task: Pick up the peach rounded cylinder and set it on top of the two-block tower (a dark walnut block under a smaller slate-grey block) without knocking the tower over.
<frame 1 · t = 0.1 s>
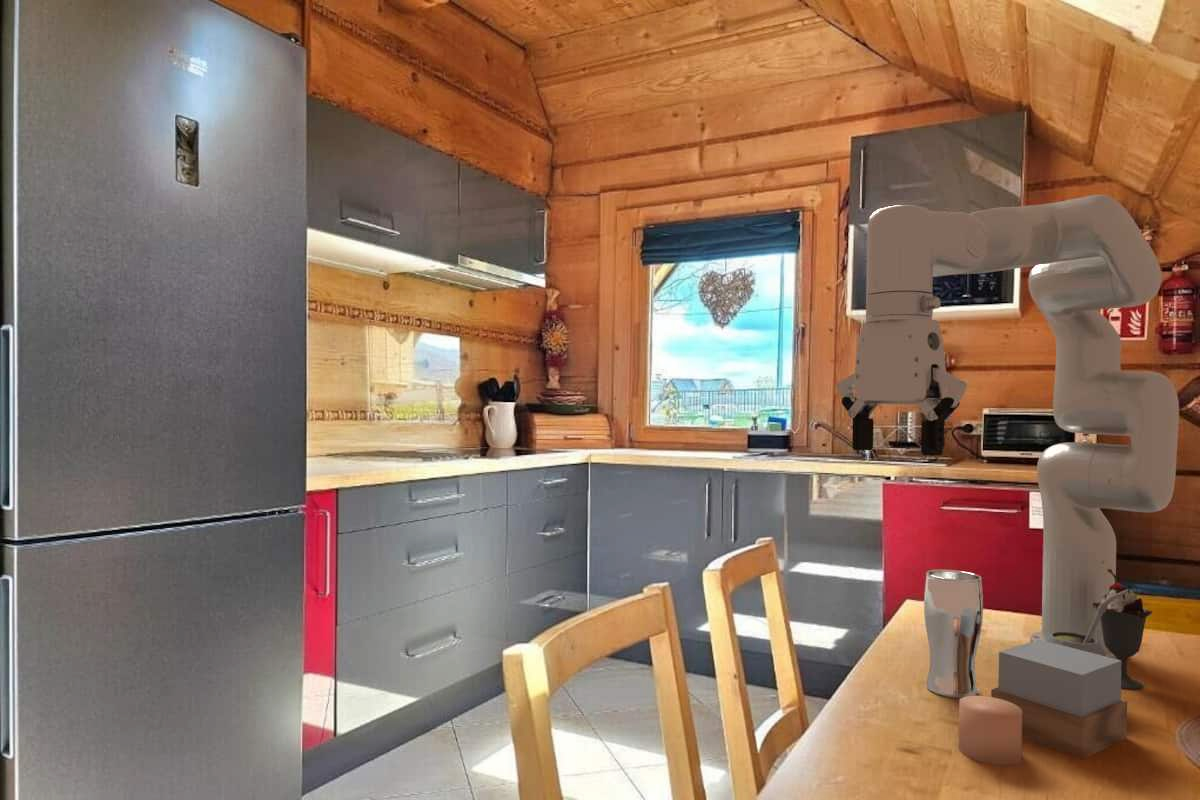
hand: (895, 452, 95), 31 cm above the table, tool pointing down, fingers open, 9 cm apart
beer glass: (951, 691, 102), on the table
mate gourd: (1077, 703, 99), on the table
slate top block: (1058, 695, 90), point 4 cm above the table, touching walnut base block
walnut base block: (1057, 734, 90), on the table, touching slate top block
sundae: (1120, 684, 106), on the table
peach rounded cylinder: (989, 753, 84), on the table
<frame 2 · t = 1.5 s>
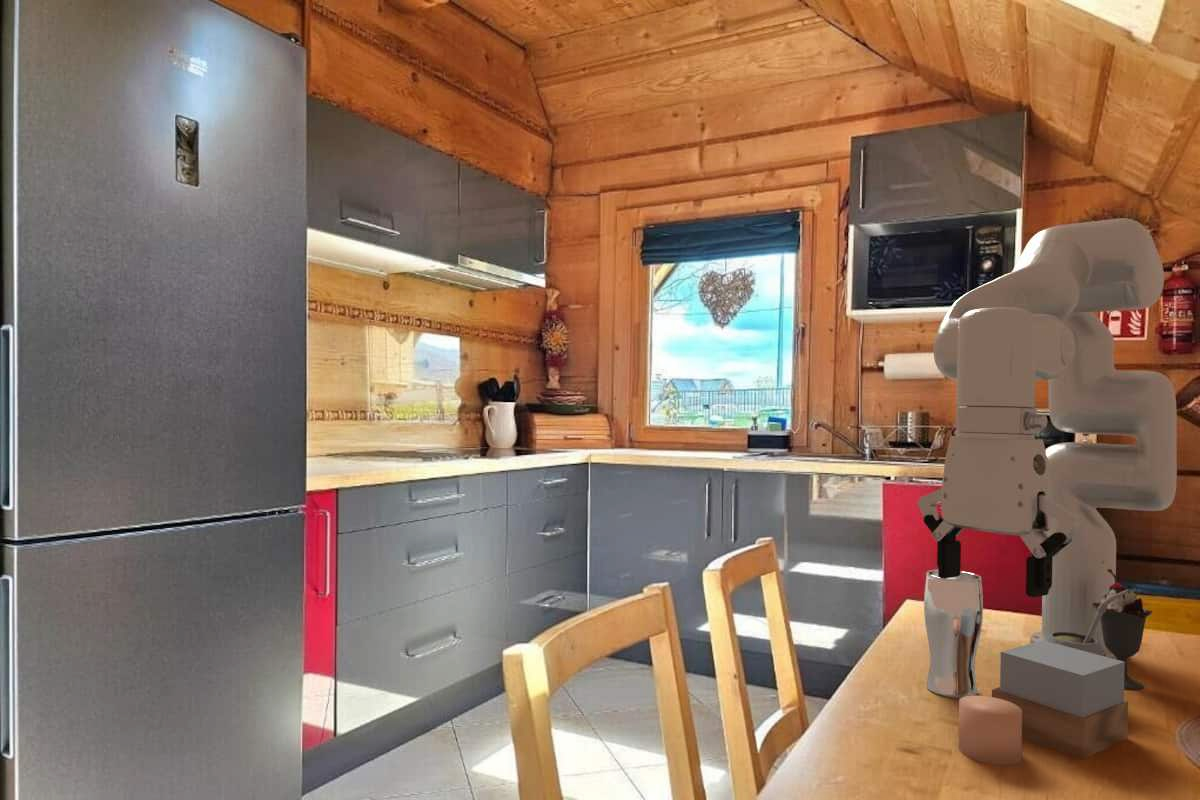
hand: (991, 585, 84), 18 cm above the table, tool pointing down, fingers open, 9 cm apart
nothing on the table moved.
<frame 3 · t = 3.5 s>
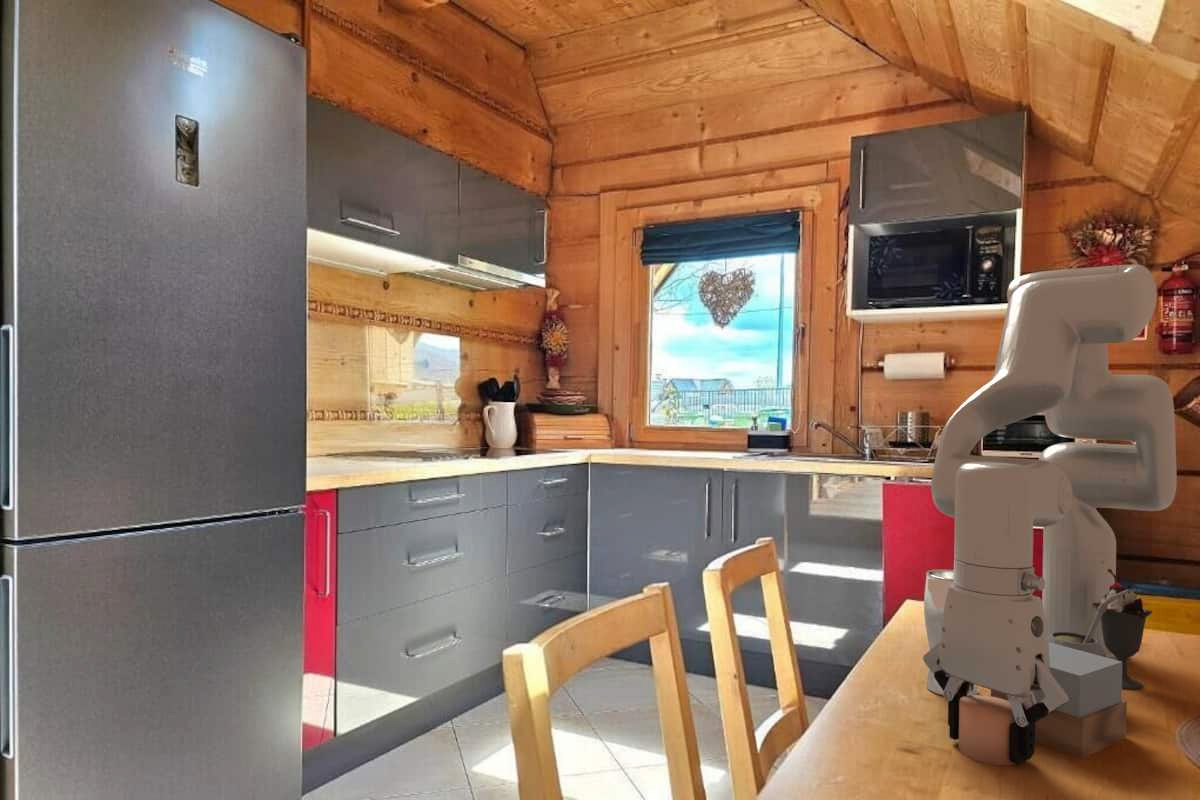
hand: (989, 746, 84), 1 cm above the table, tool pointing down, fingers closed on peach rounded cylinder, 6 cm apart
peach rounded cylinder: (989, 752, 84), on the table, touching gripper
everything else where it was.
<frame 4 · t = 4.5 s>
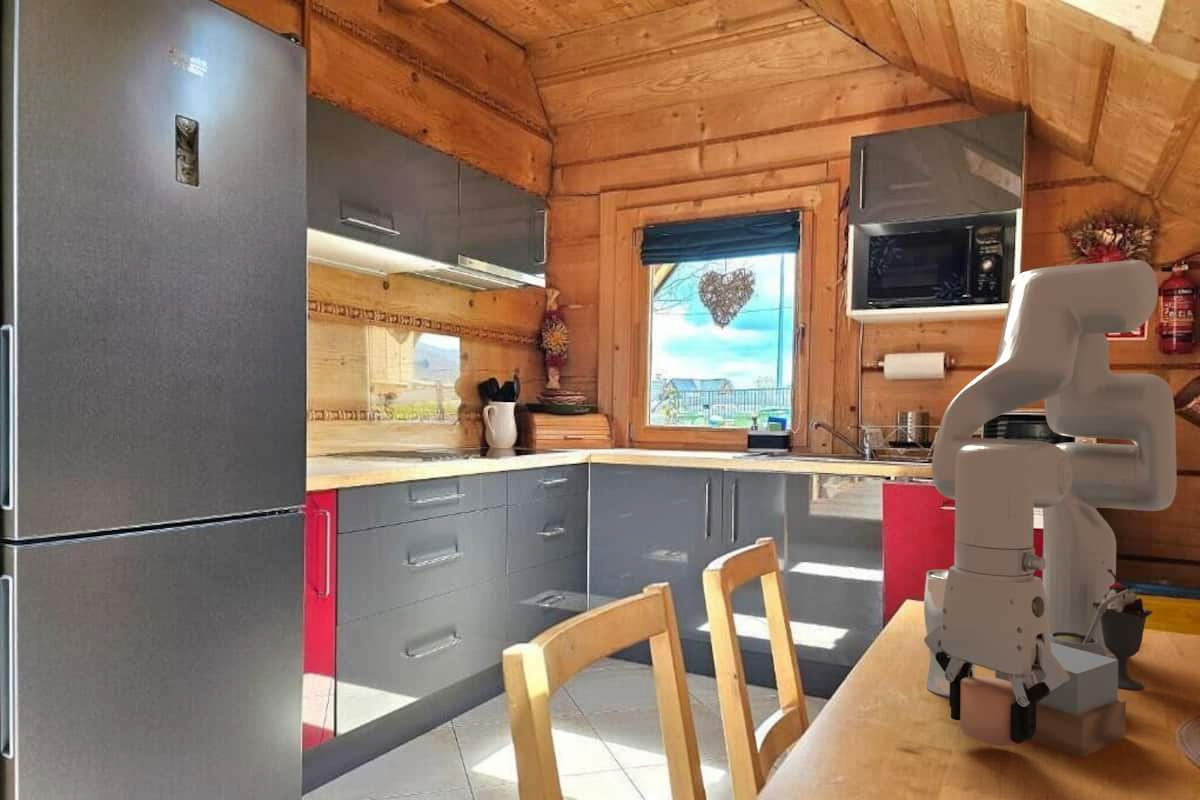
hand: (991, 726, 84), 3 cm above the table, tool pointing down, fingers closed on peach rounded cylinder, 6 cm apart
peach rounded cylinder: (990, 732, 84), point 2 cm above the table, touching gripper
everything else where it was.
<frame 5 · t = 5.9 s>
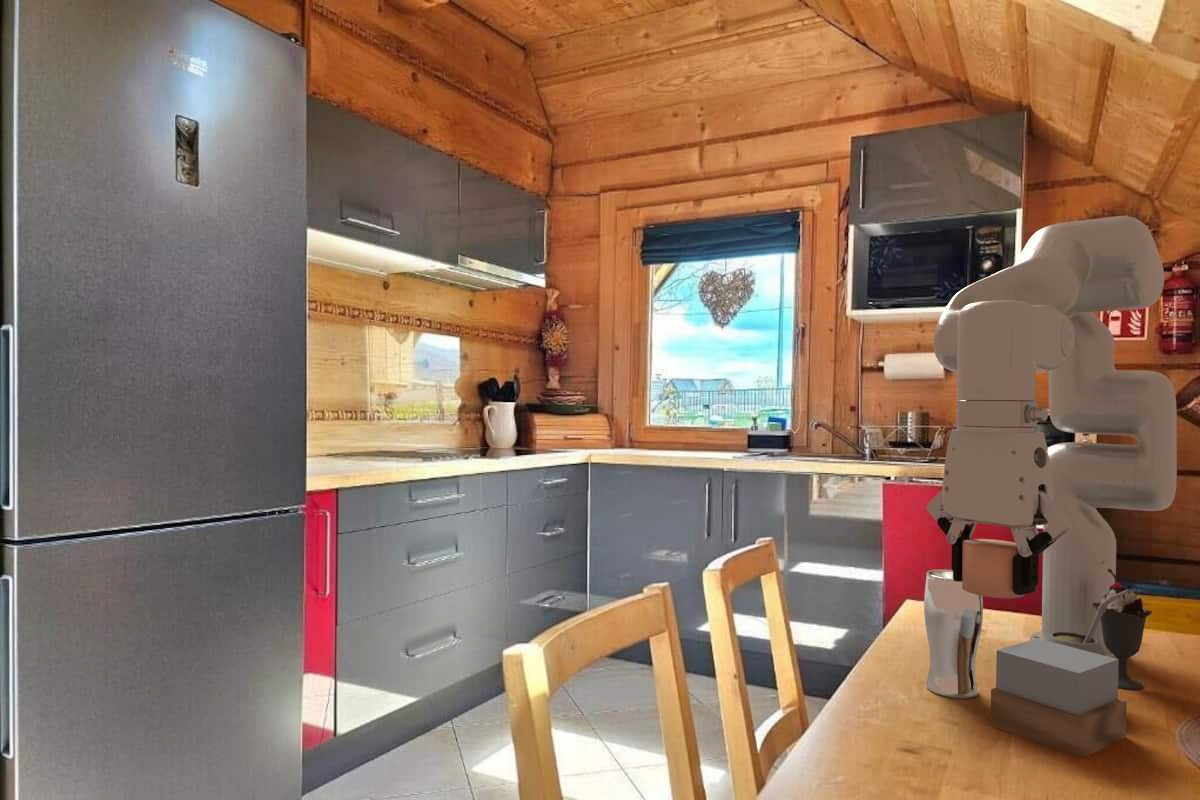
hand: (993, 584, 84), 18 cm above the table, tool pointing down, fingers closed on peach rounded cylinder, 6 cm apart
slate top block: (1056, 693, 90), point 4 cm above the table
walnut base block: (1057, 734, 90), on the table
peach rounded cylinder: (993, 590, 84), point 17 cm above the table, touching gripper
everything else where it was.
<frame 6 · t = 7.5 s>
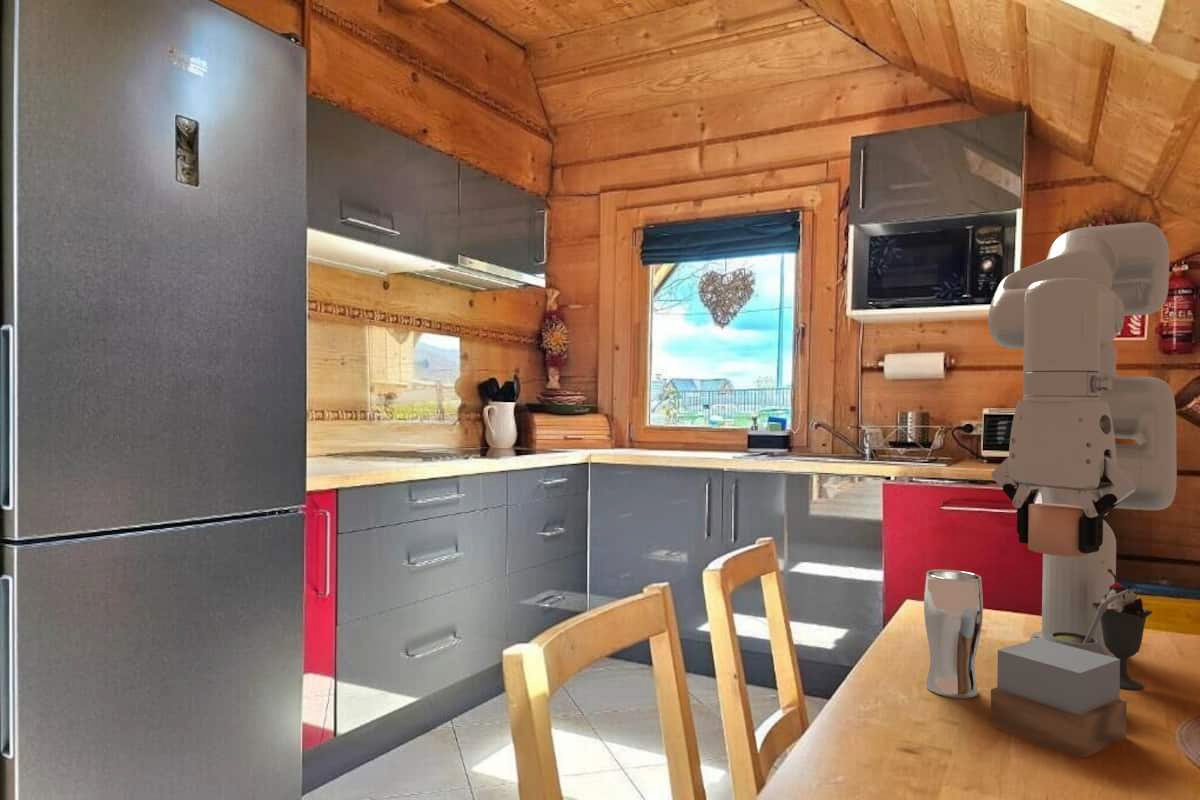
hand: (1058, 545, 90), 21 cm above the table, tool pointing down, fingers closed on peach rounded cylinder, 6 cm apart
peach rounded cylinder: (1057, 550, 90), point 21 cm above the table, touching gripper
everything else where it was.
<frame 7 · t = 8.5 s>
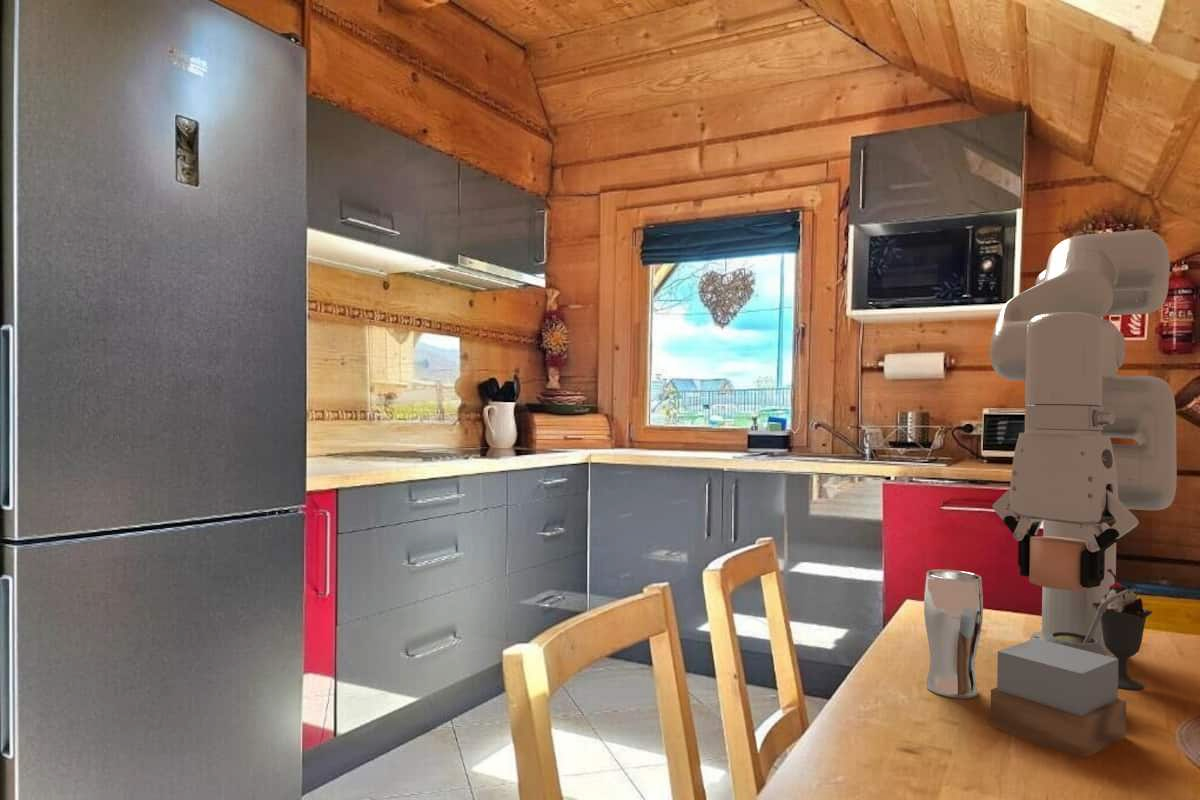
hand: (1059, 579, 89), 17 cm above the table, tool pointing down, fingers closed on peach rounded cylinder, 6 cm apart
slate top block: (1056, 694, 90), point 4 cm above the table, touching walnut base block
walnut base block: (1056, 734, 90), on the table, touching slate top block
peach rounded cylinder: (1059, 584, 89), point 17 cm above the table, touching gripper
everything else where it was.
when the fingers open (10 cm above the table, at t = 10.4 s): peach rounded cylinder stays where it is, point 9 cm above the table.
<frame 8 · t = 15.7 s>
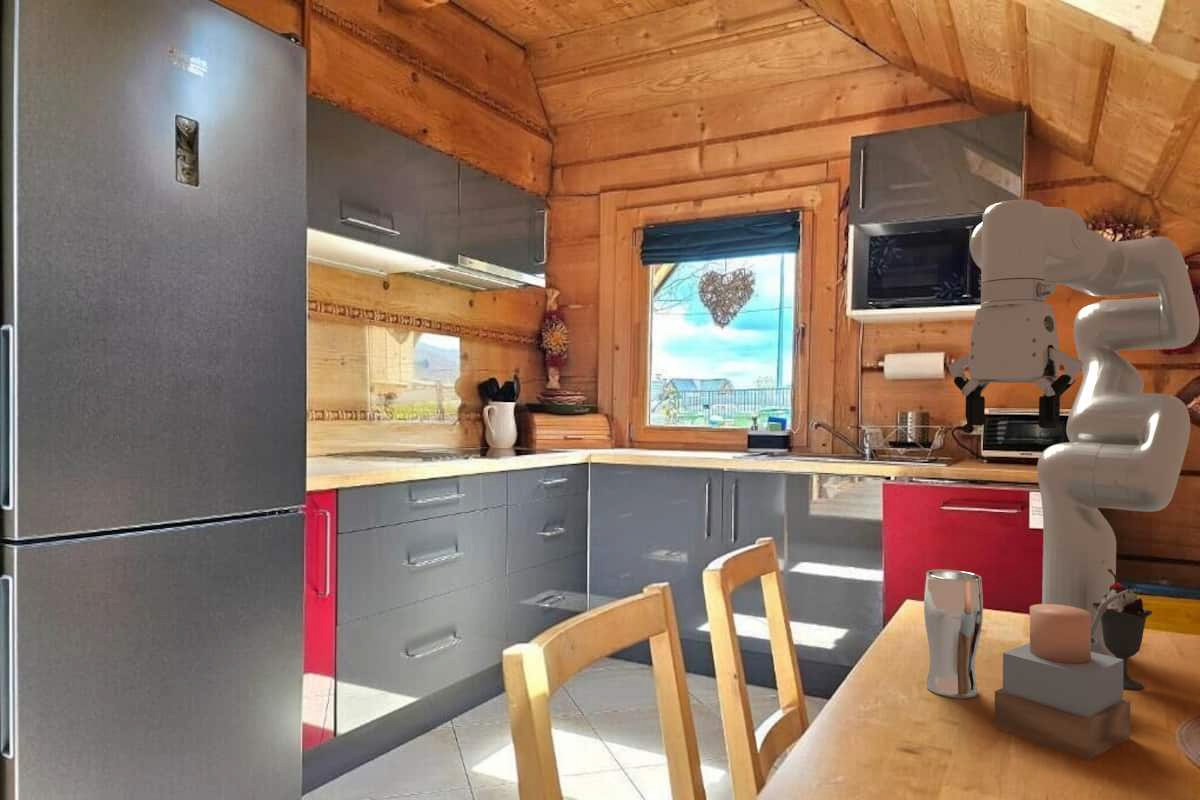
hand: (1010, 426, 104), 34 cm above the table, tool pointing down, fingers open, 9 cm apart
peach rounded cylinder: (1059, 654, 90), point 9 cm above the table
everything else where it was.
at the end: peach rounded cylinder 0.3 cm off-centre on the walnut base block, point 9.1 cm above the walnut base block's base; peach rounded cylinder tilted 1°; slate top block 0.1 cm off-centre on the walnut base block, point 4.5 cm above the walnut base block's base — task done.
